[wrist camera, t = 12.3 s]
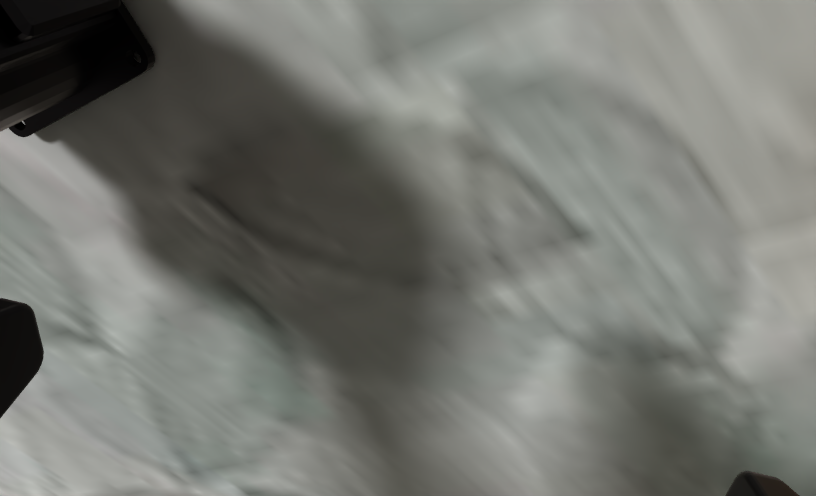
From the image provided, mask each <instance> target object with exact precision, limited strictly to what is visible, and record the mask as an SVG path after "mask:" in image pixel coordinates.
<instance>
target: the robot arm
mask: <svg viewBox="0 0 816 496" xmlns="http://www.w3.org/2000/svg"><path fill="white" fill-rule="evenodd" d="M133 50H134V51H136V52H137V53H138V54H139V56H140V58H141V63H140V62H138V61H137V60H136V59H135V58H134V56H133ZM154 63H155V55H154V52H153V50H152V48H151V46H150V45H149V43H148V42H147V40H146V38H145V37H144V35H143V34H142V32H141V31H140V29H139V27H138V26H137V24H136V23H135V21H134V20H133V18H132V16H131V15H130V13H129V12H128V10H127V9H126V7H125V5H124V4H123V2H122V1H121V0H0V131H2V130H4V129H7V128H9V129H10V130H11V131H12V132H13V133H14V134H16V135H18V136H21V137H27V136H30V135H31V134H33V133H35V132H37V131H39V130H41V129H43V128H44V127H46V126H48V125H50V124H52V123H54V122H55V121H57V120H59V119H61V118H63V117H64V116H66V115H68V114H70V113H72V112H74V111H75V110H77V109H79V108H81V107H83V106H84V105H86V104H88V103H90V102H92V101H93V100H95V99H97V98H99V97H101V96H103V95H104V94H106V93H108V92H110V91H112V90H113V89H115V88H117V87H119V86H121V85H123V84H124V83H126V82H128V81H130V80H132V79H133V78H135V77H137V76H139V75H141V74H143V73H144V72H146V71H148V70H150V69H151V68H152V67H153V66H154ZM23 120H24V122H25V125H24V124H23V123H22V121H23ZM43 354H44V351H43V346H42V342H41V338H40V334H39V330H38V326H37V322H36V318H35V314H34V311H33V310H32V308H31V307H30V306H29V305H27V304H25V303H21V302H17V301H12V300H8V299H3V298H0V418H1V417H2V416H3V414H4V413H5V412H6V411H7V409H8V408H9V407H10V406H11V404H12V403H13V402H14V401H15V400H16V398H17V397H18V396H19V395H20V393H21V392H22V391H23V390H24V388H25V387H26V386H27V385H28V383H29V382H30V381H31V380H32V378H33V377H34V376H35V375H36V373H37V372H38V370H39V368H40V366H41V364H42V361H43ZM725 496H799V495H798V494H797V493H796V492H794V491H793V490H792V489H791V488H790V487H789V486H788V485H786V484H785V483H784V482H783V481H781V480H780V479H778V478H776V477H772V476H768V475H763V474H759V473H755V472H750V471H744V472H741V473H740V474H738V475H737V477H736V478H735V480H734V481H733V483H732V485H731V487H730V488H729V490H728V492H727V494H726V495H725Z"/></svg>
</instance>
